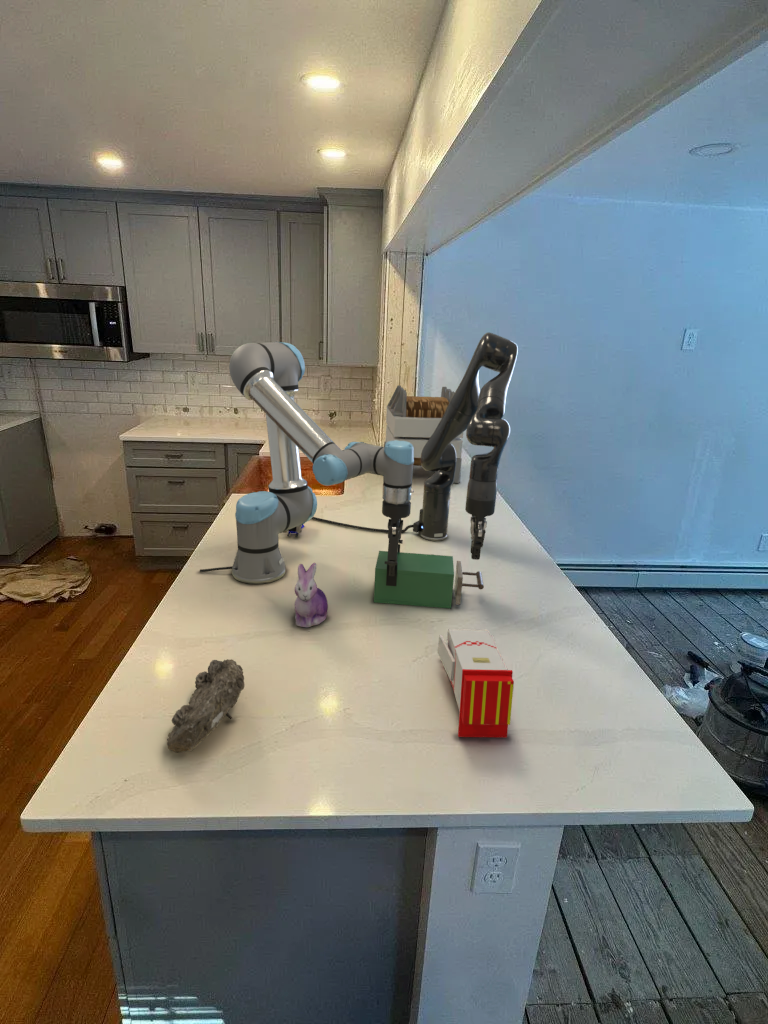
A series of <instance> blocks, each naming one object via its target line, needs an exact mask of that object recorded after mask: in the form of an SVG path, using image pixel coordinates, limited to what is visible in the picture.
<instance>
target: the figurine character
mask: <svg viewBox="0 0 768 1024" xmlns="http://www.w3.org/2000/svg"><path fill="white" fill-rule="evenodd" d="M304 528H305V524H303V525H300V526H297V527H294V528H292V529H289V530H287V531H284V532H282V533H285V534H287V537H290V535H291V534H292V535H294V534H295V538H298V537H299V534H301V533H302V530H303V529H304Z"/></svg>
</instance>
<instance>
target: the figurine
mask: <svg viewBox="0 0 768 1024" xmlns="http://www.w3.org/2000/svg"><path fill="white" fill-rule="evenodd" d="M316 573H317V563H316V562H313V563H311V565H310V566H309V567H308V569H307V570H306V567H305V566H304V565H303V563H300V564H298V566H297V575H298V576H297V578H298V579H297V581H296V583H295V586H294V589H293V590H294V594H295V596H296V598H295V601H294V612H295V615H294V619H295V626H297V627H302V628H311V627H312V626H313V627H314V626H318V625H320V624H322V623H323V622H324V621H325V620H326V619H327V616H328V610H329V604H328V598H327V595H326V594H325V592H324V591H323V590H322V589H321V588H319V587H318V586H317V583H316V581H315V575H316Z"/></svg>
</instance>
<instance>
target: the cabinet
mask: <svg viewBox="0 0 768 1024" xmlns="http://www.w3.org/2000/svg"><path fill="white" fill-rule="evenodd" d="M387 558H388V550H378V555H377V558H376V563H375V568H374V586H373V587H374V588H373V603H376V604H388V605H389V604H390V605H401V606H402V605H403V606H412V607H413V606H414V607H425V608H426V607H428V608H440V609H452V602H453V593H454V592H453V591H454V583H455V565H454V556H453V555H442V554H431V553H430V554H429V553H417V552H416V553H415V552H403V551H402V552H401V551H400V552H398V556H397V562H398V565H397V583H396V586H386V577H387V564H385V561H387Z"/></svg>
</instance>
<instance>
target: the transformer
mask: <svg viewBox="0 0 768 1024" xmlns="http://www.w3.org/2000/svg"><path fill="white" fill-rule="evenodd" d="M455 392H456V391H453V390H452V389H451V388H447V386H442V387H441V392H440V393H441V394H440V396H415V395H414V396H413V395H412V396H411V395H407V394H408V393H407V390H406V389H404V388H403V387H402V385H399V384H398V385H397V386H396V388H395V390H394V392H393V394H392V395H391V398H390V400H389V402H388V404H387V405H386V413H385V414H386V415H385V423H386V428H385V438H384V442H383V447H385V444H386V443H387V442H388V441H394V440H398V441H406V442H409V443H411V444H412V445H413V447H414V463H413V467H415V466H416V467H417V466H418V467H422V466H421V462H420V457H421V452H422V450H423V448H424V446H425V444H426V443H427V441H428V440H429V438H430V437H431V436H432V434H433V433H434V431H435V429H436V428H437V426H438V424H439V422H440V420H441V419H442V417H443V415H444V413H445V411H446V409H447V407H448V405H449V403H450V401H451V399H452V397H453V395H454V393H455ZM463 438H464V432H463V433H461V434H460V435H459V436H458V437H456V438H455V439H454V440H453V441H451V442H450V444H452V445H453V446H454V448H455V450H456V468H455V474H454V481H453V484H455V483H456V484H459V483H461V472H462V461H463V460H462V453H463V442H464V441H463V440H462V439H463Z"/></svg>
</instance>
